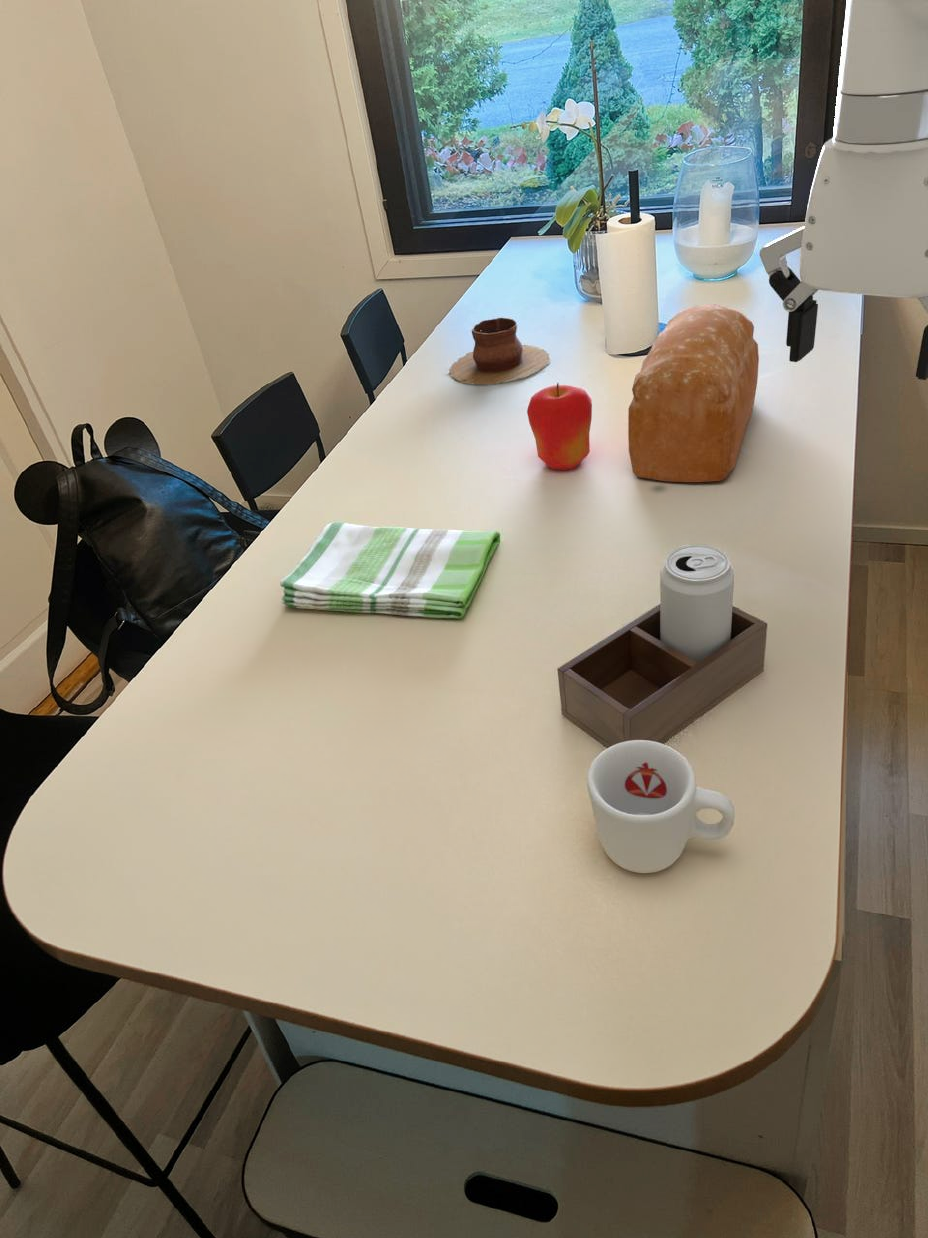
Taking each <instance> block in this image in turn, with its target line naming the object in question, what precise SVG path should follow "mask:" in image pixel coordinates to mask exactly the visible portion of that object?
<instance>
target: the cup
mask: <svg viewBox="0 0 928 1238" xmlns="http://www.w3.org/2000/svg"><path fill="white" fill-rule="evenodd" d="M586 777H587V778H586V785H587V791H588V796H589V800H590V804H591V809H592V813H593V816H594V820H595V826H596V829H597V833H598V838H599V841H600V844H601V846H602V848H603V850H604V852H605V854H606V855H607V857H609V859H610V860H611V861H612V862H614V863H615V865H617V866H619V867H621V869H624V870H627V871H630V872H632V873H633V872H634V873H636V874H637V873H639V874H652V873H657V872H660V871H663V870H665V869H668V868H670V866H672V865H673V864H674V863H675V862H676V861H677V860H678V859H679V858H680V856H681V855H682V853H683V851H684V848H685V846H686V844H687V842H688V841H689V840H691V839H698V840H705V841H716V840H717V841H718V840H722V839H724V838H725V837H726V836H728V835H729V834H730V832H731V831H732V829H733V827H734V823H735V808H734V805H733V803H732V800H731V799H730V798H729V797H728V796H727V795H725V794H723V793H721V792H720V791H717V790H713V789H707V788H702V787H700V786H698V785H697V779H696V774H695V771H694V769H693V766H692V765H691V763H690V761H688V759H687V758H686V757H685V756H684V755H683V754H682V753H680V752H679V751H678V750H676V749H674V748H673V747H671V746H670V745H667V744H665V743H663V744H661V743H658V742H654V741H648V740H632V741H626V742H622V743H618V744H616V745H613V746H611V747H609V748H606V749H605V750H603V751H602V752H600V753H599V754H598V755H597V756H596V757H595V758H594V759H593V761H592V763H591V765H590V766H589V768H588V772H587V776H586ZM706 809H707V810H708V809H709V810H714V811H717V812H719V813H720V814H721V816H722V818H721V819H720V820H719V821H718V822H716V823H706V822H704V821H702V820H700V819H699V818H698V816H697V814H698V813H699V812H700V811H702V810H706Z"/></svg>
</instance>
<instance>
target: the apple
mask: <svg viewBox="0 0 928 1238" xmlns="http://www.w3.org/2000/svg"><path fill="white" fill-rule="evenodd" d="M526 413H527V414H526V415H527V418H528V422H529V426H530V428H531V431H532V434H533V437H534V439H535V446H536V453H537V457H538V458H539V459H540V460H541V461H542V462H543V463H544V464H545V465H546V466H547V467H548V468H550V469H553V470H559V471H568V470H571V469H574V468H576V467H577V466H579V465H580V464H581V463H582V462H583V461H584V460H585V458H587V456H588V455H589V454H590V453H591V450H590V448H591V447H590V431H591V425H592V417H593V416H592V415H593V400H592V398H591V396H590V395H589V394H588V392H587V391H586V390H585V389H583V388H581V387H577V386H572V385H566V384H559V382H557V383H556V385H551V386H547V387H544V388H542V389H540V390H539V391H537V392H535V393H534V394H533V395H532V396H531V397H530V399H529V402H528V406H527V409H526Z"/></svg>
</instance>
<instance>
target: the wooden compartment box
mask: <svg viewBox="0 0 928 1238" xmlns="http://www.w3.org/2000/svg"><path fill="white" fill-rule="evenodd" d="M767 633H768V622H766V621H765V620H763V619H760V618H758V617H756V616H754V615H752V614H750V613H748V612H747V611H744V610H742V609H740V608H738V607H737V606H734V605H733V607H732V623H731V640H730V641H729V642H728V643H726V644H725V645H724V646H722V647H721V648H719V649H718V650H716V651H715V652H713V653H712V654H711V655H709V656H708V657H706V658H705V659H703V660H702V661H700V662H699V663H697V662H696V661H694V660H692V659H690V658H689V657H687V656H685V655H684V654H682V653H680V652H678V651H677V650H675V649H673V648H672V647H670V646H668V645H667V644H665V643H663V642H661V641H660V603H658V604H656V605H655V606H654V607H652V608H651V609H648V611H646V612H644V613H642V614H641V615H640V616H638V617H636V618H634V619H633V620H631V621H630V622H629V623H627V624H625V625H624V626H622V627H621V628H619V629H617V630H616V631H614V632H612V633H611V634H610V635H608V636H606V637H604V638H603V639H601V640H600V641H599V642H597V643H595V644H594V645H592V646H591V647H589V648H587V649H586V650H584V651H583V652H581V653H579V654H578V655H576V656H574V657H573V658H572V659H570V660H569V661H567V662H566V663H564V664H562V665H561V666H559V667H558V668H556V669H557V670H556V671H557V680H558V689H559V698H560V699H559V700H560V709H561V710H560V711H561V715H562V716H563V717H565V718H566V719H567V720H569V721H570V722H571V723H573V725H575V726H576V727H578V728H580V729H581V730H582V731H583V732H585V733H586V734H587V735H589V736H590V737H592V738H593V739H595V741H597V742H598V743H600V744H601V745H602V746H604V747H605V748H606V749H607V748H609V747H611V746H613V745H616V744H618V743H622V742H626V741H632V740H648V741H654V742H658V743H661V744H665V743H666V742H667V741H669V740H670V739H672V738H674V737H675V736H676V735H677V734H678V733H680V732H682V731H683V730H684V729H685V728H687V727H688V726H689V725H691V724H692V723H694V722H695V721H697V720H698V719H699V718H701V717H702V716H703V715H704V714H707V712H709V711H710V710H711V709H713V708H715V707H716V706H717V705H718V704H720V703H721V702H722V701H724V700H726V698H728V697H730V695H732V694H734V693H735V692H736V691H738V690H739V689H740V688H742V687H743V686H745V685H746V684H747V683H748V682H750V681H752V679H754V678H756V677H757V676H758V675H760V674H761V673H763V671H765V660H766V659H765V656H766V646H767Z"/></svg>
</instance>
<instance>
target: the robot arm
mask: <svg viewBox="0 0 928 1238" xmlns="http://www.w3.org/2000/svg"><path fill="white" fill-rule="evenodd" d="M843 26H844V27H843V35H842V46H841V54H840V55H841V56H840V63H839V64H840V65H839V73H838V74H839V75H838V83H837V84H838V87H837V96H836V106H835V116H834V117H835V118H834V126H833V136H832V137H831V138H829V139H828V140H827V141H825V142H824V144H823V146H822V149H821V152H820V155H819V158H818V161H817V166H816V169H815V173H814V177H813V181H812V185H811V188H810V194H809V199H808V203H807V209H806V214H805V219H804V226H802V227H800V228H797V229H796V230H793V231H792V232H790V233H788V234H785V235H784V236H781V237H779V238H777V239H775V240H773V241H771V242H769V243H767V244H766V245H765V246H763V247H762V248H761V249H760V250H759V258H760V260H761V262H762V265H763V267H764V270H765V272H766V275H768V277H769V278H768V283H769V286H770V287H771V288H772V289H773V291H774V292H775V293H776V294H777V296H778V297H779V298H780V299H781V301H782V307H783V309H784V310H785V311H786V312H788V314H787V315H788V316H787V329H786V343H785V344H786V347H789V359H788V361H789V362H792V363H799V362H800V361H801V360H802V359H804V358H805V357H806V356H807V355H808V354H810V352H812V351H813V349H814V347H815V339H816V331H817V320H818V311H819V304H818V300H816V299H814V296H815V294H816V293H817V292H818V291H822V292H831V293H840V294H841V293H843V294H853V295H863V296H875V297H877V296H878V297H885V298H900V299H917V300H918V302H919V303H920V304H921V306H922V307H923V309H924V310H925V312H926V313H927V314H928V0H846V5H845V15H844V25H843ZM798 249H800V255H799V277H800V278H799V277H798V275H796V274H795V272H794V271H793V269H792V268H790V267H789V266H788V261H787V258H786V257H787V255H788V254H790V253H792V252H794V251H796V250H798ZM915 378H917V380H919V381H920V380H921V381H927V380H928V324H927V325H926V326H925V327H924V328H923V331H922V337H921V343H920V348H919V353H918V360H917V365H916V371H915Z"/></svg>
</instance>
